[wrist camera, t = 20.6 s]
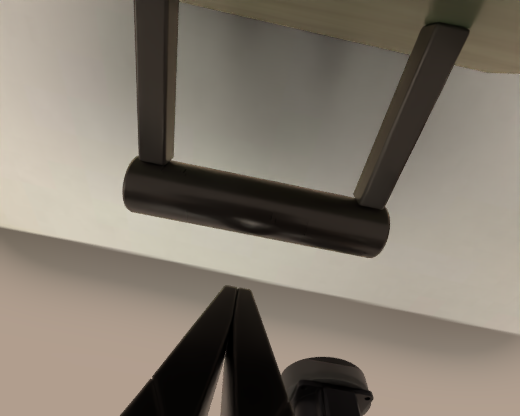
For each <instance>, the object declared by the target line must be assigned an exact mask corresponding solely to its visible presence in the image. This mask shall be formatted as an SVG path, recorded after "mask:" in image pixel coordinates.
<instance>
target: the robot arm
mask: <svg viewBox="0 0 520 416" xmlns="http://www.w3.org/2000/svg"><path fill="white" fill-rule="evenodd" d="M237 290H238V291H237ZM225 353H226V354H225ZM224 357H225V361H224ZM223 362H224V372H223V388H222V402H221V415H220V416H361V414H362V413H363V412H364V410H365V409H366V408H367V407H368V405H369V404H370V403H371V402H372V400H373V395H372V392H371V391H368V390H363V389H357V388H351V387H345V386H340V385H334V384H328V383H322V382H316V381H311V380H304V379H303V380H299V381H298V383H297V385H296V387H295V389H294V391H293V393H292V395H291V397H290V399H289V397H288V394H287V391H286V389H285V386H284V383H283V380H282V377H281V374H280V372H279V369H278V366H277V363H276V360H275V357H274V354H273V351H272V348H271V346H270V343H269V340H268V337H267V334H266V331H265V329H264V325H263V323H262V320H261V317H260V314H259V311H258V308H257V305H256V303H255V300H254V297H253V294H252V291H251V290H250V289H245V288H238V289H237V287H234V286H229V285H226V286H224V287H223V289H222V290H221V291H220V292H219V293H218V295H217V296H216V297H215V298H214V300H213V301H212V302H211V303H210V305H209V306H208V307H207V308H206V310H205V311H204V312H203V313H202V315H201V316H200V317H199V319H198V320H197V321H196V322H195V323H194V325H193V326H192V327H191V329H190V330H189V331H188V332H187V334H186V335H185V336H184V337H183V339H182V340H181V341H180V342H179V344H178V345H177V346H176V347H175V349H174V350H173V351H172V353H171V354H170V355H169V356H168V358H167V359H166V360H165V361H164V362H163V364H162V365H161V366H160V368H159V369H158V370H157V371H156V372H155V374H154V375H153V376H152V379H150V380H149V381H148V382H147V383H146V385H145V386H144V387H143V388H142V390H141V391H140V392H139V393H138V395H137V396H136V397H135V398H134V399H133V401H132V402H131V403H130V404H129V405H128V407H127V408H126V409H125V410H124V411H123V413H122V414H121V415H120V416H207V415H208V412H209V409H210V405H211V402H212V399H213V395H214V392H215V389H216V385H217V382H218V379H219V375H220V372H221V369H222V365H223ZM288 400H289V401H288Z"/></svg>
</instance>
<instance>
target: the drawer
mask: <svg viewBox="0 0 520 416" xmlns="http://www.w3.org/2000/svg"><path fill="white" fill-rule="evenodd" d="M179 2H183V3H187V4H191V5H196V6H200V7H204V8H209V9H213V10H217V11H222V12H226V13H230V14H235V15H239V16H243V17H248V18H252V19H256V20H261V21H265V22H269V23H274V24H278V25H282V26H287V27H291V28H295V29H300V30H304V31H308V32H313V33H317V34H321V35H326V36H330V37H334V38H339V39H343V40H348V41H352V42H356V43H361V44H365V45H369V46H374V47H378V48H382V49H387V50H391V51H395V52H400V53H404V54H408V55H410V57H409V59H408V62H407V64H406V67H405V69H404V72H403V74H402V76H401V79H400V81H399V84H398V86H397V89H396V91H395V93H394V96H393V98H392V101H391V103H390V106H389V108H388V110H387V113H386V115H385V118H384V120H383V123H382V125H381V128H380V130H379V132H378V135H377V137H376V140H375V142H374V145H373V147H372V149H371V152H370V154H369V157H368V159H367V162H366V164H365V166H364V169H363V171H362V174H361V176H360V179H359V181H358V183H357V186H356V188H355V191H354V193H353V195H354V197H355V198H353V197H348V196H343V195H338V194H334V193H329V192H324V191H319V190H314V189H309V188H304V187H299V186H294V185H289V184H285V183H280V182H275V181H270V180H265V179H260V178H255V177H250V176H245V175H240V174H236V173H231V172H226V171H221V170H216V169H211V168H206V167H201V166H196V165H192V164H187V163H182V162H177V161H172V160H171V159H172V158H173V157H174V130H175V101H176V72H177V43H178V13H179ZM134 23H135V54H136V84H137V115H138V146H139V156H136V157H135V158H134V159H133V160H132V161H131V163H130V165H129V166H128V169H127V171H126V174H125V178H124V182H123V201H124V204H125V206H126V208H127V209H128V210H130V211H131V212H135V213H140V214H145V215H150V216H155V217H161V218H166V219H171V220H176V221H181V222H186V223H191V224H196V225H202V226H207V227H212V228H217V229H222V230H227V231H232V232H238V233H243V234H248V235H253V236H258V237H263V238H268V239H274V240H279V241H284V242H289V243H294V244H299V245H304V246H310V247H315V248H320V249H325V250H330V251H335V252H340V253H346V254H351V255H356V256H361V257H366V258H373V257H376V256H377V255H378V254H380V252H381V251H382V250H383V248H384V246H385V244H386V242H387V239H388V235H389V230H390V217H389V213H388V210H387V208H386V207H385V205H386V203H387V201H388V199H389V197H390V195H391V193H392V191H393V189H394V187H395V185H396V183H397V181H398V179H399V176H400V174H401V172H402V170H403V168H404V166H405V164H406V162H407V160H408V158H409V156H410V154H411V152H412V150H413V148H414V146H415V144H416V142H417V140H418V138H419V136H420V134H421V132H422V130H423V127H424V125H425V123H426V121H427V119H428V117H429V115H430V113H431V111H432V109H433V107H434V105H435V103H436V101H437V99H438V97H439V95H440V93H441V91H442V89H443V87H444V85H445V83H446V80H447V78H448V76H449V74H450V72H451V70H452V68H453V66H454V65H456V66H460V67H465V68H469V69H473V70H478V71H482V72H486V73H508V74H520V0H134Z"/></svg>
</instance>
